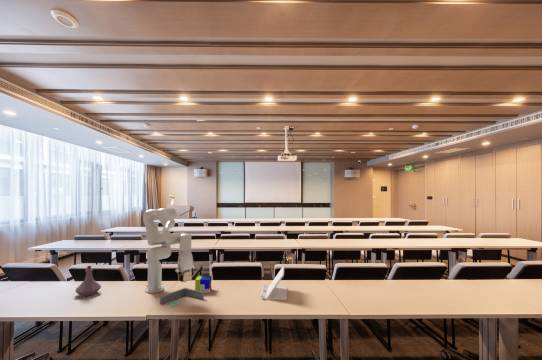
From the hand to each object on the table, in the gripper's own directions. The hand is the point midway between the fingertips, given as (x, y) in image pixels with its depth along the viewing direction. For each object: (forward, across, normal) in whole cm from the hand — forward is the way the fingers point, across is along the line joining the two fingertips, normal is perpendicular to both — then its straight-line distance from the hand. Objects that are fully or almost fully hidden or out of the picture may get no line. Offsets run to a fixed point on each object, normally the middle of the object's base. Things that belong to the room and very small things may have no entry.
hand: (184, 279), depth 189 cm
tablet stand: (+15, +44, -43) cm, 64 cm away
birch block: (+1, 0, 0) cm, 1 cm away
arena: (+14, -1, +1) cm, 15 cm away
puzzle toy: (+15, +21, +4) cm, 26 cm away
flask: (+15, -25, +70) cm, 76 cm away
